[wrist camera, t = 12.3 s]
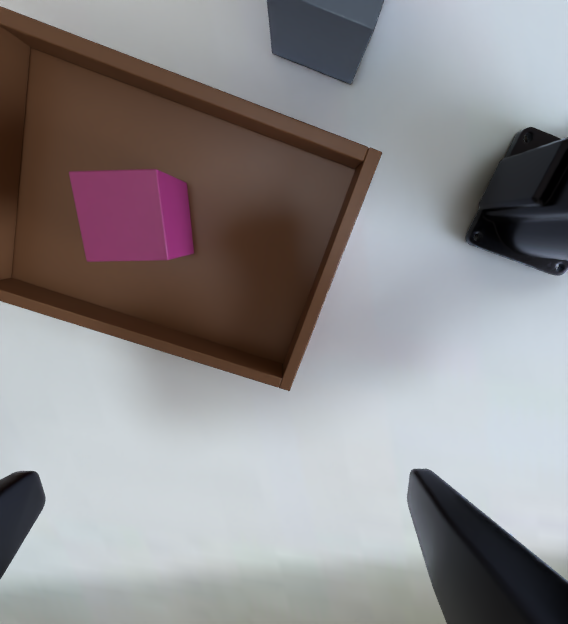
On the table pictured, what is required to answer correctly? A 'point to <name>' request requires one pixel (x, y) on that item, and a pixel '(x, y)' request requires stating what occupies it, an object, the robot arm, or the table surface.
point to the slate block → (323, 33)
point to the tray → (201, 193)
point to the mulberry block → (132, 215)
